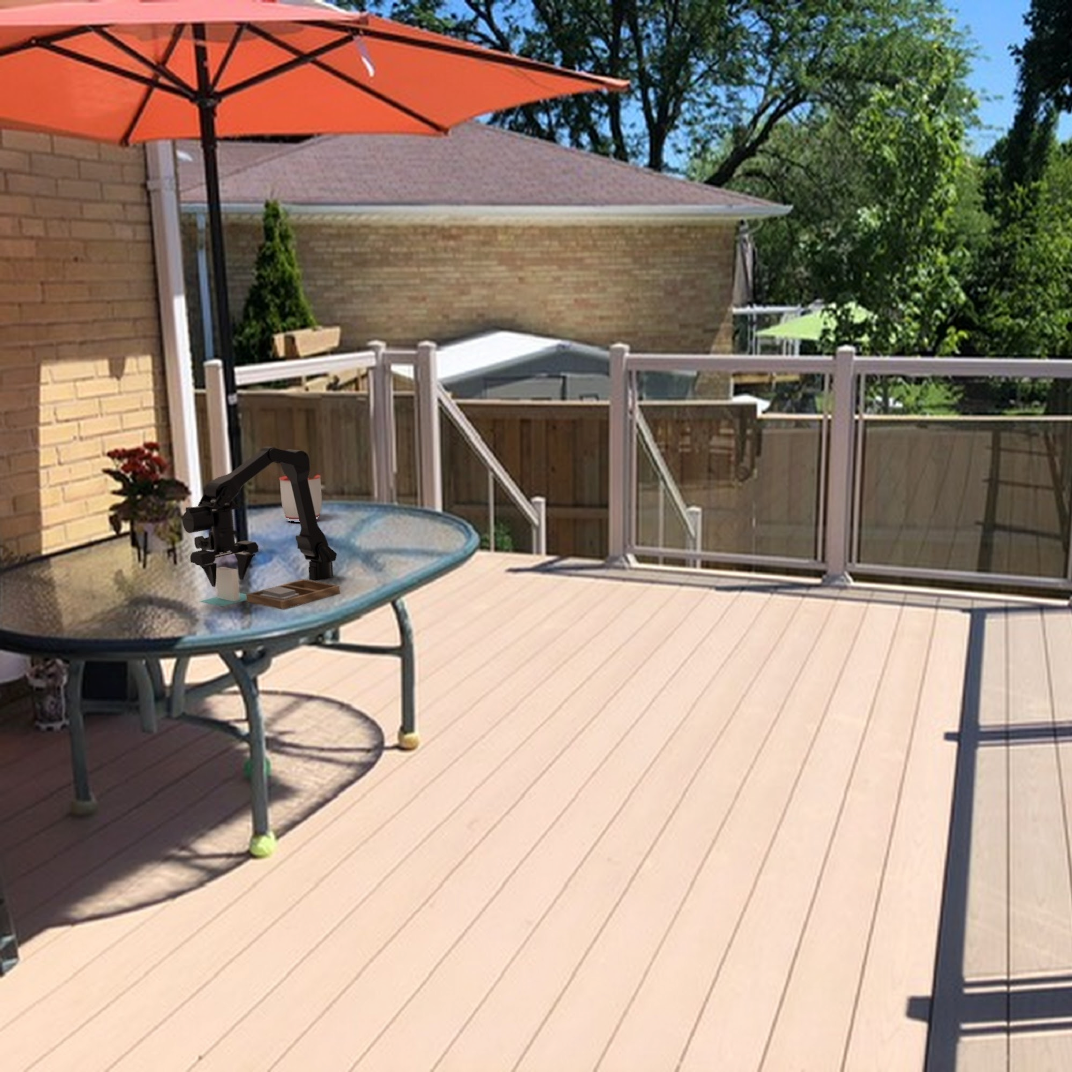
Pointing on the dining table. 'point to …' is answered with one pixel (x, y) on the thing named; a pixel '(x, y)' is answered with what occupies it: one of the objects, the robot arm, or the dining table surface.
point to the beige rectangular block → (227, 583)
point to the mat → (224, 602)
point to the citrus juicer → (289, 500)
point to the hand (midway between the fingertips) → (227, 583)
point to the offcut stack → (279, 593)
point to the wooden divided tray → (302, 587)
